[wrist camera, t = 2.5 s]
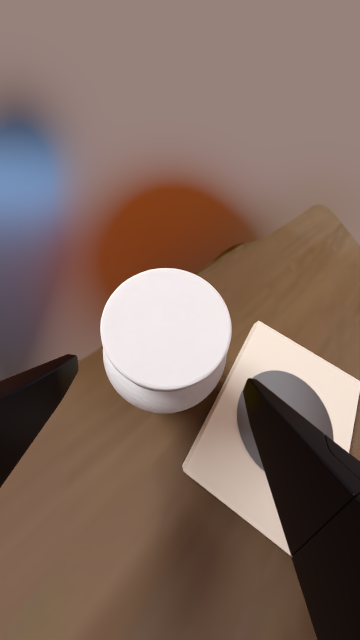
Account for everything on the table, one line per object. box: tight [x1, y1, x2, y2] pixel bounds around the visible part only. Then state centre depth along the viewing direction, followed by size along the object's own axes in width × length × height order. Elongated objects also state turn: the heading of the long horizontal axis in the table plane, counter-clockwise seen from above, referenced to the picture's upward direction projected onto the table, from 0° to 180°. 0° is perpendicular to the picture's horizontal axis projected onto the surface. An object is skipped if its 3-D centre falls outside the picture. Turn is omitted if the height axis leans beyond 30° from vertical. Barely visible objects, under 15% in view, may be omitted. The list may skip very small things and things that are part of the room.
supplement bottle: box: [101, 268, 232, 413], centre depth 12 cm, size 7×7×13 cm
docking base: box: [182, 321, 360, 555], centre depth 16 cm, size 16×12×1 cm
